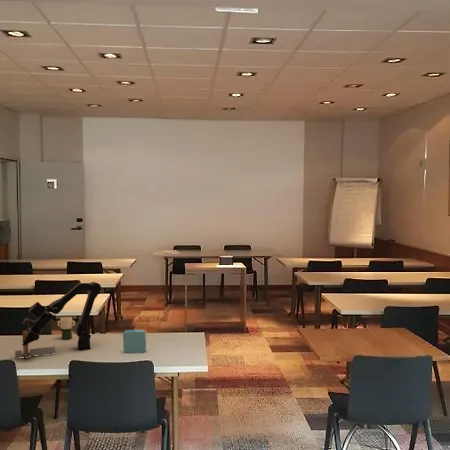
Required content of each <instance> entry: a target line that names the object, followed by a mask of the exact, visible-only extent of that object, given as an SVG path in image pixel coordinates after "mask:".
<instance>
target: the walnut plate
mask: <svg viewBox="0 0 450 450" xmlns="http://www.w3.org/2000/svg"><path fill="white" fill-rule="evenodd" d="M27 332H28V331H27V329H26V330H22V341H23V342H22V344H23V343H24V341H25V340H26V338H27V336H28V334H27ZM22 350H23V352H22V354H23V353H24V358H26V357H29V355H28V353H29V344H27V345H25V346H23V345H22ZM24 358H23V359H24Z"/></svg>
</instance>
